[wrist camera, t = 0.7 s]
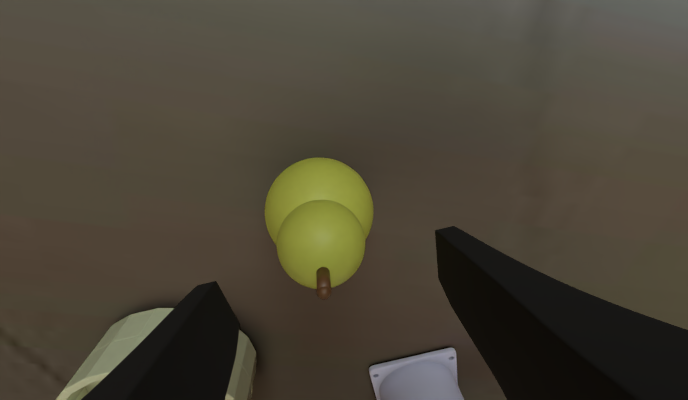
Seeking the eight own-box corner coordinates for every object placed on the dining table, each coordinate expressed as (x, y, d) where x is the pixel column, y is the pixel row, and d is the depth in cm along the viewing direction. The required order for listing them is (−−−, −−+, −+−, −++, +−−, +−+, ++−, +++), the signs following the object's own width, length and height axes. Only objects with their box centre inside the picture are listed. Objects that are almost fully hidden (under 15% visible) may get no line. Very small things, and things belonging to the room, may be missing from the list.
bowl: (275, 379, 25) (268, 447, 21) (152, 408, 25) (118, 482, 21) (225, 286, 20) (201, 351, 16) (70, 323, 20) (2, 397, 16)
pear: (370, 215, 19) (413, 332, 11) (288, 235, 19) (270, 366, 11) (354, 134, 16) (395, 206, 8) (259, 156, 16) (207, 250, 8)
